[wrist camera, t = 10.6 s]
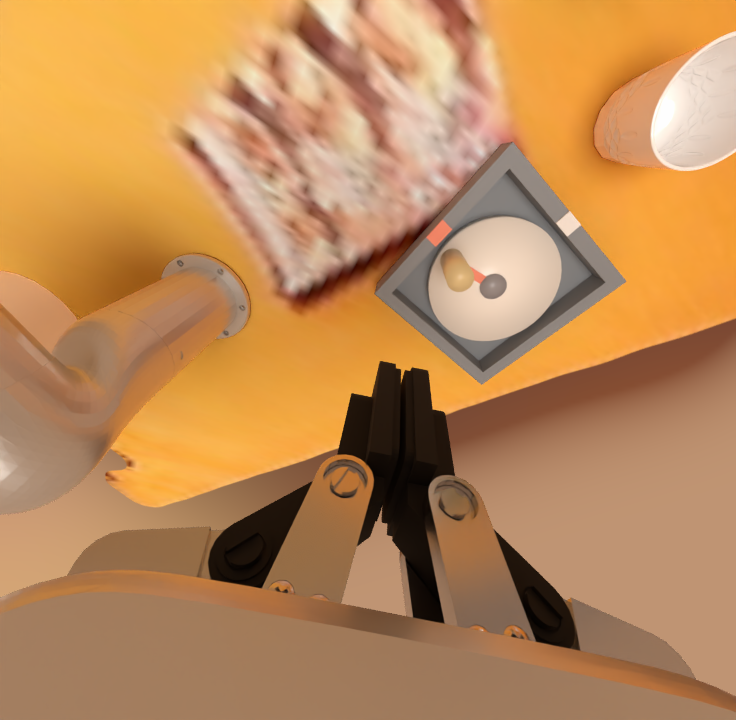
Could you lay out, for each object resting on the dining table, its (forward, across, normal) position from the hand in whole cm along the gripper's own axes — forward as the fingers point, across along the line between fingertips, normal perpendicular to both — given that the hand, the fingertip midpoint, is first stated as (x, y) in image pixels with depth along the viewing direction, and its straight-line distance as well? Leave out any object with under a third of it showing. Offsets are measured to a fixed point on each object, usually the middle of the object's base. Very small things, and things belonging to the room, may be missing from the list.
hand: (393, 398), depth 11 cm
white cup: (+32, -20, -14) cm, 40 cm away
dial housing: (+32, -12, +3) cm, 34 cm away
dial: (+31, -12, +3) cm, 33 cm away
